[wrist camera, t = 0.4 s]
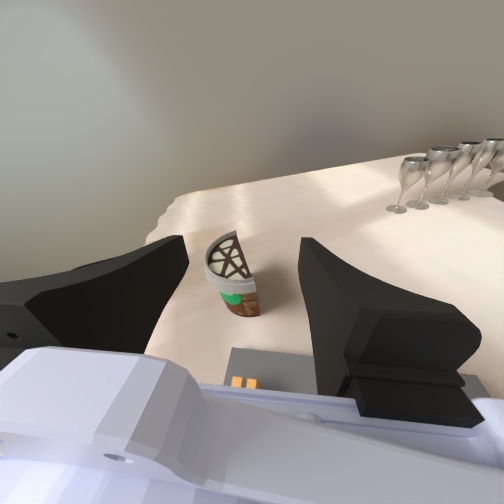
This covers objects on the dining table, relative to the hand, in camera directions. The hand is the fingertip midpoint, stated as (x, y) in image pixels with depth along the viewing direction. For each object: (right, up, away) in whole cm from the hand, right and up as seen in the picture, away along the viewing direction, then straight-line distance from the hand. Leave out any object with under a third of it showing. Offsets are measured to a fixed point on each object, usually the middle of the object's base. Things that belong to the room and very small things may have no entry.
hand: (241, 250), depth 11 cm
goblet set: (+49, +13, +36) cm, 62 cm away
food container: (-2, -8, +21) cm, 23 cm away
